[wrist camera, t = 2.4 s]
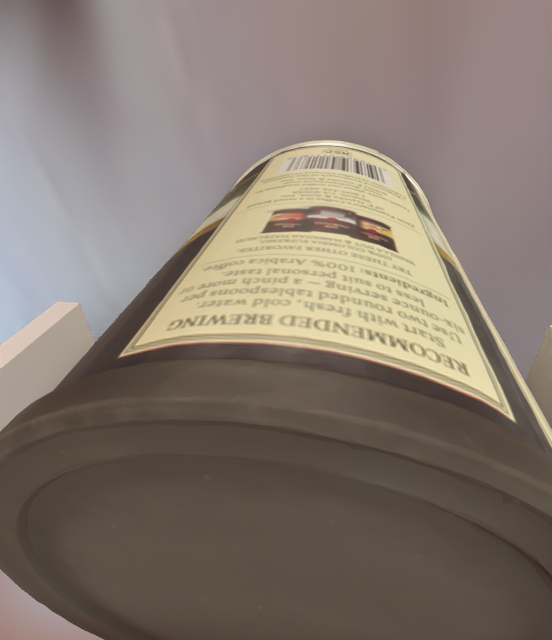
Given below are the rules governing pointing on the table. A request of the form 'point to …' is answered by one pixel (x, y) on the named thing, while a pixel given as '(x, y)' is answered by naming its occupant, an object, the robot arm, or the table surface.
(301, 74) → the table surface
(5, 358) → the robot arm
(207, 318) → the coffee can
